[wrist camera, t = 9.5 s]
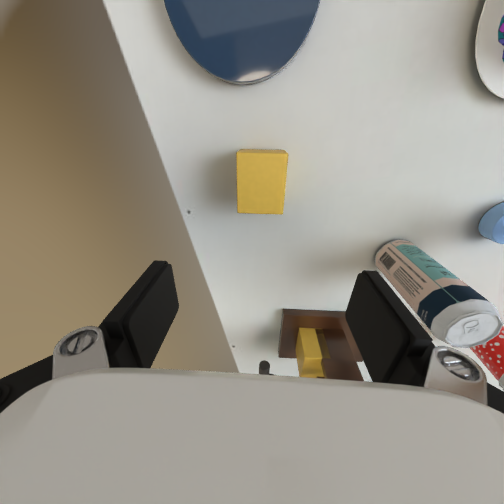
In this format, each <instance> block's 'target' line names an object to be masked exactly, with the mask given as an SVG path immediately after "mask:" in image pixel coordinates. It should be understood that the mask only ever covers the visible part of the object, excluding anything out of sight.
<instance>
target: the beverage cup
mask: <svg viewBox="0 0 504 504" xmlns="http://www.w3.org/2000/svg"><path fill="white" fill-rule="evenodd" d="M470 349H471V350H472V351H473V352H474V353H475V354H476V356H477V357H478V358H479V359H480V360H481V361H482V363H483V364H484V365H485V366H486V367H487V368H488V370H489V371H490V372H491V373H492V374H493V375H494V377H495V378H496V379H497V380H498V381H499V386H501V387H502V388H503V390H504V326H502V328H501V330H500V332H499V334H498V335H497V336H495V337H494V338H492V339H491V340H489V341H488V342H486V343H485V344H482V345H478V346H474V347H470Z"/></svg>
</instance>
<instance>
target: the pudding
mask: <svg viewBox="0 0 504 504" xmlns="http://www.w3.org/2000/svg"><path fill="white" fill-rule="evenodd" d="M475 57H476V64H477V70H478V72H479V75H480V77H481V80H482V81H483V83H484V84H485V86H486V87H487V88H488V90H490V91H491V92H492V93H494V94H495V95H496V96H498V97H501V98H504V0H486V1H485V3H484V7H483V10H482V13H481V16H480V19H479V23H478V29H477V35H476V44H475Z"/></svg>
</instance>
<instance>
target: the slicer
mask: <svg viewBox="0 0 504 504" xmlns="http://www.w3.org/2000/svg"><path fill="white" fill-rule="evenodd" d="M345 313H346V312H338V311H316V310H294V309H283V314H282V323H281V331H280V340H279V348H278V357H279V358H297V356H296V343H297V337H298V332H299V328H318V330H317V329H315V331H316V335H318V336H317V339H318V338H319V337H320V339H321V338H324V339H325V340H326V341H325V340H321V341H320V342H321V343H320V344H319V347H320V350H321V348H322V346H323V347H325V345H326V344H327V345H326V347H328V348H326V347H325V349H326V350H327V352H328V353H327V352H326V351H325V350H324V348H323V349H322V350H324V351H323V352H324V353H325V352H326V353H327V354H329V355H330V357H329V356H328V355H327V354H326V353H325V354H326V355H325V354H323V352H322V353H321V354H322V356H323V358H322V360H321V366H322V370H323V374H324V377H319V376H317V378H322V379H336V380H351V381H364V380H363V377H362V375H361V372H360V370H359V368H358V365H357V363H356V362H362V361H363V358H362V356H361V354H360V351H359V349H358V347H357V344H356V342H355V340H354V337H353V335H352V333H351V331H350V328H349V326H348V324H347V321H346V318H345ZM320 329H321V330H323V331H321V330H320ZM319 333H320V334H321V333H322V334H324V337H323V336H322V335H320V334H319ZM320 339H319V340H320ZM319 340H318V342H319ZM323 341H325V342H323ZM324 343H325V345H323V344H324ZM321 344H322V346H321ZM322 350H321V351H322ZM328 350H329V351H328ZM324 355H325V356H324ZM326 356H328V358H327V357H326ZM324 357H325V358H324Z"/></svg>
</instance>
